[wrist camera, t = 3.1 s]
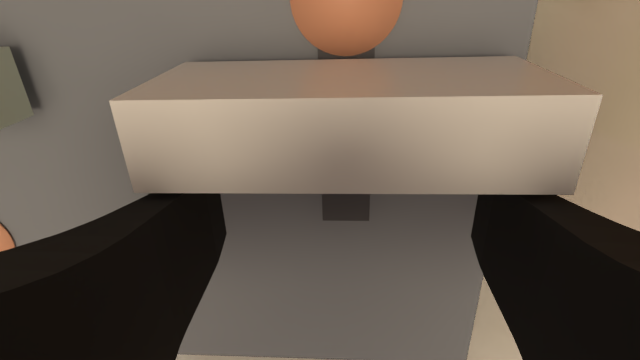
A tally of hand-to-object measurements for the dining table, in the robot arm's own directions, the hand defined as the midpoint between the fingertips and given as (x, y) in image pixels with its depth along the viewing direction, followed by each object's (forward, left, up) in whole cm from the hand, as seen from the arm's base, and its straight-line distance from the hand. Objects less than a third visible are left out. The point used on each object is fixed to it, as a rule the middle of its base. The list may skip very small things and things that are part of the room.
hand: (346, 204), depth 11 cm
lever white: (+3, 0, -2) cm, 3 cm away
